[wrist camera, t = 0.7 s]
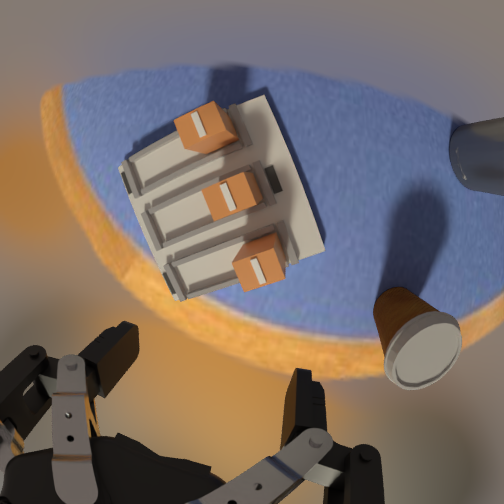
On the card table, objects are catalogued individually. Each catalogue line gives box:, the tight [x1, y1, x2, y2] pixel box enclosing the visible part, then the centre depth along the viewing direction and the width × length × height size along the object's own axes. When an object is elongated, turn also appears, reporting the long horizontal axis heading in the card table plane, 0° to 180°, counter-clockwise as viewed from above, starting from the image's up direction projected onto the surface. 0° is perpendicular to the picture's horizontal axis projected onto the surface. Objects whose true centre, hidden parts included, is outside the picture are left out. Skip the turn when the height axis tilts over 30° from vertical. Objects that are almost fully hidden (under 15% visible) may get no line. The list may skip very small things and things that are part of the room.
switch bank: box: [118, 95, 325, 302], centre depth 31 cm, size 20×19×2 cm
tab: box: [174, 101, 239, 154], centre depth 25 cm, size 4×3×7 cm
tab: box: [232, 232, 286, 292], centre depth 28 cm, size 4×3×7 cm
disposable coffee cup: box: [373, 287, 462, 390], centre depth 27 cm, size 10×10×12 cm
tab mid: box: [201, 172, 263, 221], centre depth 26 cm, size 4×3×7 cm
